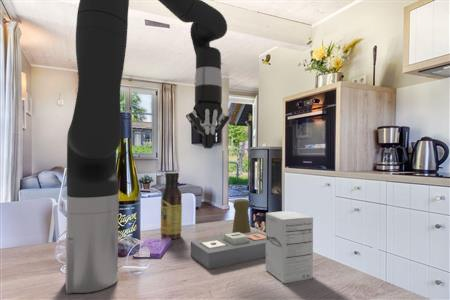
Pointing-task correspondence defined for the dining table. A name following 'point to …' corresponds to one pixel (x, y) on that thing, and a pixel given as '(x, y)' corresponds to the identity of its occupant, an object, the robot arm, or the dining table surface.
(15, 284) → the dining table surface
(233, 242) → the sage key
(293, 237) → the supplement box
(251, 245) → the keypad
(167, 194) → the sauce bottle
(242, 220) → the cork
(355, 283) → the dining table surface
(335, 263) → the dining table surface
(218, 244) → the cream key
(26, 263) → the dining table surface
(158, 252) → the sponges
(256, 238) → the terracotta key
